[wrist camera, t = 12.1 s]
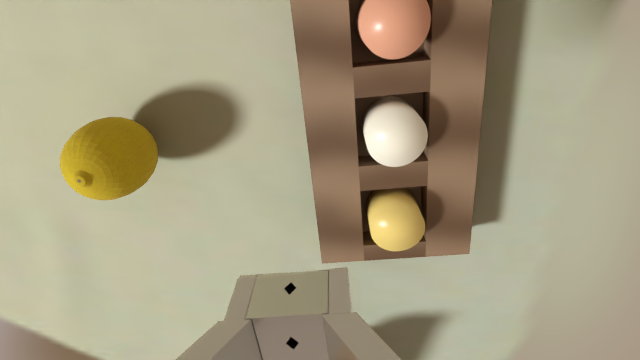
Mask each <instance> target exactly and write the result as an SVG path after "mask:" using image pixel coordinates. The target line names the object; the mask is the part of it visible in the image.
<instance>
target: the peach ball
mask: <svg viewBox="0 0 640 360" xmlns="http://www.w3.org/2000/svg"><path fill="white" fill-rule="evenodd" d="M430 23H431V13H430V8H429V5H428V2H427V0H363V2H362V3H361V5H360V7H359V10H358V13H357V19H356V25H357V31H358V34H359V36H360V38H361V40H362V41H363V43H364V44H365V45H366V46H367V47H368V48H369V49H370V50H371V51H372V52H373V53H374V54H376V55H377V56H379V57H382V58H385V59H400V58H404V57H406V56H408V55H410V54H412V53H413V52H414V51H416V50H417V49H418V48H419V47H420V46H421V45H422V43H423V42H424V40H425V39H426V36H427V34H428V32H429V28H430Z"/></svg>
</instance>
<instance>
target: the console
mask: <svg viewBox="0 0 640 360" xmlns="http://www.w3.org/2000/svg"><path fill="white" fill-rule="evenodd" d="M362 2H363V0H290V3H291V11H292V20H293V28H294V36H295V44H296V53H297V61H298V69H299V77H300V85H301V94H302V102H303V110H304V118H305V126H306V135H307V143H308V151H309V159H310V167H311V176H312V184H313V192H314V200H315V209H316V217H317V225H318V233H319V241H320V250H321V258H322V263H335V262H350V261H366V260H381V259H397V258H412V257H428V256H443V255H459V254H469V251H470V240H471V229H472V218H473V207H474V196H475V185H476V174H477V163H478V152H479V141H480V130H481V119H482V108H483V97H484V86H485V75H486V64H487V53H488V42H489V31H490V20H491V9H492V0H427V2H428V5H429V8H430V13H431V23H430V28H429V32H428V34H427V36H426V39H425V40H424V42H423V43H422V45H421V46H420V47H419V48H418V49H417V50H416V51H414V52H413V53H412V54H410V55H408V56H406V57H404V58H400V59H385V58H382V57H379V56H377V55H376V54H374V53H373V52H372V51H371V50H370V49H369V48H368V47H367V46H366V45H365V44H364V43H363V41H362V40H361V38H360V36H359V34H358V31H357V25H356V19H357V13H358V10H359V7H360V5H361V3H362ZM387 96H395V97H400V98H402V99H404V100H406V101H407V102H408V103H409V104H410V105H411V106H412V107H413V108H414V110H415V111H416V112H417V113H418V115H419V116H420V117H421V118H422V120H423V121H424V123H425V125H426V128H427V132H428V138H427V144H426V146H425V148H424V150H423V152H422V153H421V155H420V156H419V157H418V158H417V159H415V160H414V161H413V162H411V163H409V164H407V165H404V166H399V167H389V166H385V165H382V164H380V163H378V162H377V161H376V160H374V159H373V158H372V156H371V155H370V153H369V152H368V149H367V146H366V142H365V138H364V134H363V130H362V118H363V115H364V113H365V111H366V109H367V108H368V107H369V106H370V105H371V104H372V103H373V102H374V101H376V100H377V99H380V98H382V97H387ZM393 188H408V189H409V190H410V191H411V192H412V194H413V196H414V198H415V200H416V203H417V205H418V207H419V209H420V212H421V214H422V216H423V219H424V221H425V232H424V235H423V237H422V238H421V240H420V241H419V242H418V243H417V244H416V245H415V246H413V247H411V248H409V249H407V250H403V251H388V250H385V249H383V248H381V247H379V246H378V245H377V244H376V243H375V242H374V240H373V239H372V237H371V233H370V227H369V221H368V216H367V210H366V203H367V199H368V197H369V196H370V194H371V193H372V192H373V191H374V190H380V189H393Z"/></svg>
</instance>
